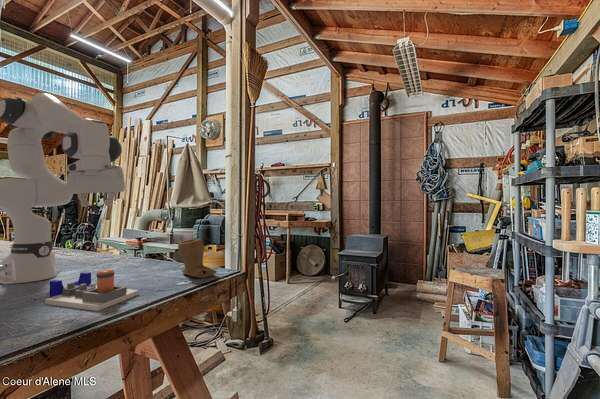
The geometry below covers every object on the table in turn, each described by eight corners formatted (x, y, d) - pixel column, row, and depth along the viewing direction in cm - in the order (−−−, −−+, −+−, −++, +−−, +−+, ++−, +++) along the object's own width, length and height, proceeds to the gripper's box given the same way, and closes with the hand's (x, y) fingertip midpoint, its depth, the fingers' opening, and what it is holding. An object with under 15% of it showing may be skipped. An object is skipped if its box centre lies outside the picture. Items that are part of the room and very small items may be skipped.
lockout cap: (93, 298, 94) (93, 271, 94) (109, 294, 98) (109, 268, 98) (101, 300, 91) (101, 273, 91) (117, 296, 95) (117, 270, 95)
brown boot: (173, 274, 129) (173, 238, 128) (201, 269, 137) (201, 235, 136) (188, 281, 117) (188, 242, 117) (217, 276, 125) (217, 239, 125)
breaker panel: (45, 304, 93) (45, 287, 93) (91, 289, 107) (91, 275, 107) (97, 311, 87) (97, 293, 87) (138, 294, 102) (138, 279, 102)
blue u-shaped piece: (80, 288, 109) (80, 271, 109) (91, 289, 108) (91, 272, 108) (45, 299, 97) (45, 280, 97) (57, 301, 96) (57, 281, 96)
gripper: (128, 165, 108) (130, 205, 108) (78, 168, 111) (80, 206, 111) (114, 163, 101) (115, 205, 101) (62, 166, 105) (63, 207, 105)
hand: (96, 206), depth 106 cm, fingers open, 8 cm apart
